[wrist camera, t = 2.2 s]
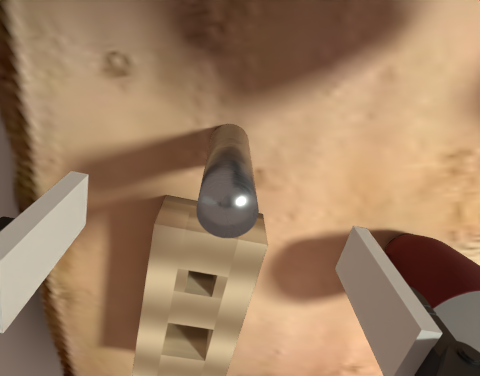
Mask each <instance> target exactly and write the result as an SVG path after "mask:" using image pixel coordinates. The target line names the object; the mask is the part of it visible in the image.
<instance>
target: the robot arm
mask: <svg viewBox="0 0 480 376" xmlns="http://www.w3.org/2000/svg"><path fill="white" fill-rule="evenodd" d="M87 193H88V174H84V173H79V172H74V171H71V172H70V173H68V174H67V175H66V176H65V177H64V178H62V179H61V180H60V181H59V182H58V183H57V184H55V185H54V186H53V187H52V188H51V189H50V190H48V191H47V192H46V193H45V194H44V195H43V196H41V197H40V198H39V199H38V200H37V201H36V202H34V203H33V204H32V205H31V206H30V207H29V208H27V209H26V210H25V211H24V212H23V213H21V214H20V215H19V216H18V217H17V218H16V219H15V218H9V217H1V218H0V333H4V332H5V330H6V329H7V328H8V326H9V325H10V324H11V322H12V321H13V320H14V319H15V317H16V316H17V315H18V313H19V312H20V310H21V309H22V308H23V307H24V305H25V304H26V303H27V301H28V300H29V299H30V298H31V296H32V295H33V293H34V292H35V291H36V290H37V288H38V287H39V286H40V284H41V283H42V282H43V280H44V279H45V278H46V276H47V275H48V274H49V273H50V271H51V270H52V269H53V267H54V266H55V265H56V263H57V262H58V261H59V259H60V258H61V257H62V255H63V254H64V253H65V251H66V250H67V249H68V248H69V246H70V245H71V244H72V242H73V241H74V240H75V238H76V237H77V236H78V234H79V233H80V232H81V230H82V229H83V228H84V226H85V225H86V211H87ZM335 270H336V272H337V275H338V277H339V279H340V281H341V283H342V286H343V288H344V290H345V292H346V294H347V296H348V299H349V301H350V303H351V305H352V307H353V310H354V312H355V314H356V316H357V318H358V321H359V323H360V325H361V327H362V329H363V331H364V334H365V336H366V338H367V340H368V342H369V345H370V347H371V349H372V351H373V353H374V356H375V358H376V360H377V362H378V364H379V366H380V369H381V371H382V373H383V375H384V376H480V352H479V351H477V350H476V349H474V348H473V347H471V346H470V345H468V344H466V343H463V342H460V341H457V340H456V339H455V338H454V336H453V335H452V334H451V332H450V331H449V330H448V328H447V327H446V326H445V324H444V323H443V322H442V320H441V319H440V318H439V316H437V315H436V312H435V311H434V310H433V308H431V307H430V304H429V303H428V302H427V300H426V299H425V298H424V296H422V295H421V294H420V293H419V292H418V291H417V290H415V289H414V288H413V287H409V286H408V284H407V283H406V282H405V280H404V279H403V278H402V276H401V275H400V273H399V272H398V271H397V269H396V268H395V266H394V265H393V264H392V262H391V261H390V260H389V258H388V257H387V255H386V254H385V253H384V251H383V250H382V248H381V247H380V246H379V244H378V243H377V241H376V240H375V239H374V237H373V236H372V235H371V233H370V232H369V230H368V229H367V228H361V227H356V226H353V228H352V230H351V232H350V235H349V237H348V239H347V242H346V244H345V246H344V249H343V251H342V253H341V256H340V258H339V260H338V263H337V265H336V267H335Z"/></svg>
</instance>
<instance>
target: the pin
mask: <svg viewBox="0 0 480 376" xmlns="http://www.w3.org/2000/svg"><path fill="white" fill-rule="evenodd" d="M196 214H197V218H198V221H199V223H200V225H201V226H202V227H203V228H204V229H205V230H206V231H207V232H208V233H210V234H212V235H214V236H216V237H220V238H235V237H239V236H241V235H243V234H245V233H247V232H248V231H249V230H250V229H251V228H252V227H253V226H254V225H255V223H256V221H257V218H258V203H257V196H256V189H255V182H254V175H253V169H252V162H251V155H250V148H249V141H248V137H247V134H246V133H245V131H244V130H243V129H242V128H240V127H239V126H237V125H234V124H225V125H222V126H220V127H218V128H217V129H216V130H215V131H214V132H213V134H212V136H211V140H210V145H209V150H208V154H207V159H206V164H205V169H204V174H203V179H202V183H201V188H200V193H199V198H198V203H197V209H196Z"/></svg>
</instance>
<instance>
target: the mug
mask: <svg viewBox="0 0 480 376" xmlns="http://www.w3.org/2000/svg"><path fill="white" fill-rule="evenodd" d="M384 253H385V254H386V255H387V257H388V258H389V260H390V261H391V262H392V264H393V265H394V266H395V268H396V269H397V271H398V272H399V273H400V275H401V276H402V278H403V279H404V280H405V282H406V283H407V284H408V286H409V287H413V288H414V289H415V290H417V291H418V292H419V293H420V294H421V295H422V296H424V298H425V299H426V300H427V302H428V303H429V304H430V307H431V308H433V310H434V311H435V312H436V315H437V316H439V318H440V319H441V320H442V322H443V323H444V324H445V326H446V327H447V328H448V330H449V331H450V332H451V334H452V335H453V336H454V338H455V339H456V340H457V341H460V342H463V343H466V344H468V345H470V346H471V347H473V348H474V349H476V350H477V351H479V352H480V266H479V265H478V264H476V263H475V262H473V261H472V260H470V259H468V258H467V257H465V256H464V255H462V254H461V253H459V252H458V251H456V250H454V249H453V248H451V247H450V246H448V245H447V244H445V243H443V242H441V241H439V240H436V239H433V238H429V237H425V236H419V235H414V234H405V235H401V236H398V237H396V238H395V239H393V240H392V241H391V242H390V243H389V244H388V245H387V247H386V249H385V251H384Z"/></svg>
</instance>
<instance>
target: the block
mask: <svg viewBox="0 0 480 376" xmlns="http://www.w3.org/2000/svg"><path fill="white" fill-rule="evenodd" d="M197 203H198V201H194V200H189V199H184V198H179V197H174V196H169V195H166V196H165V199H164V201H163V204H162V206H161V208H160V211H159V213H158V216H157V218H156V221H155V223H154V229H153V235H152V242H151V249H150V256H149V262H148V269H147V276H146V283H145V289H144V296H143V303H142V310H141V316H140V323H139V330H138V337H137V343H136V350H135V357H134V364H133V371H132V376H226V374H227V371H228V368H229V365H230V362H231V359H232V356H233V353H234V349H235V346H236V343H237V340H238V337H239V334H240V331H241V328H242V325H243V321H244V318H245V315H246V312H247V309H248V306H249V303H250V300H251V297H252V293H253V290H254V287H255V284H256V281H257V278H258V275H259V272H260V269H261V265H262V262H263V259H264V256H265V253H266V250H267V247H268V242H267V236H266V230H265V224H264V218H263V214H260V213H258V218H257V221H256V223H255V225H254V226H253V227H252V228H251V229H250V230H249V231H248V232H247V233H245V234H243V235H241V236H239V237H235V238H220V237H216V236H214V235H212V234H210V233H208V232H207V231H206V230H205V229H204V228H203V227H202V226H201V225H200V223H199V221H198V218H197V214H196V209H197Z"/></svg>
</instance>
